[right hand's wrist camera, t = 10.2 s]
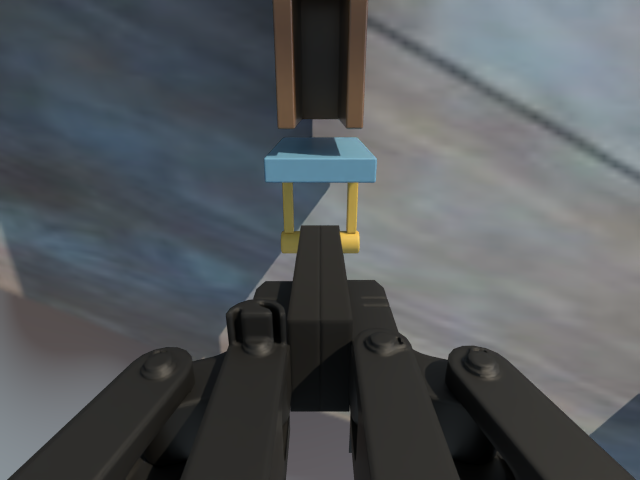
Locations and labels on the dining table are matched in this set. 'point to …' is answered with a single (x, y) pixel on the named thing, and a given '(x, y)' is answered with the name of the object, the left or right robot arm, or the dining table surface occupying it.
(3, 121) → the dining table surface
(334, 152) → the drawer
